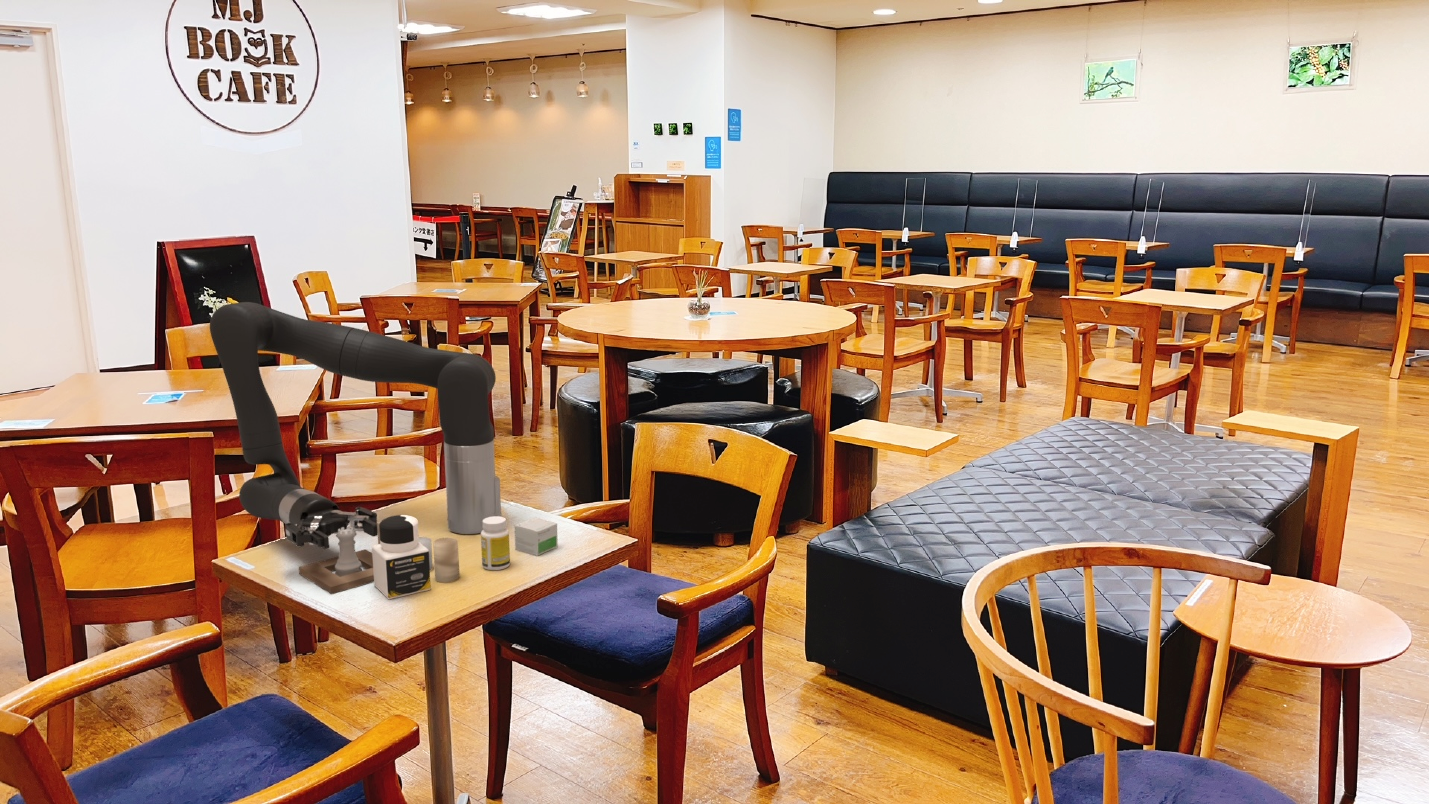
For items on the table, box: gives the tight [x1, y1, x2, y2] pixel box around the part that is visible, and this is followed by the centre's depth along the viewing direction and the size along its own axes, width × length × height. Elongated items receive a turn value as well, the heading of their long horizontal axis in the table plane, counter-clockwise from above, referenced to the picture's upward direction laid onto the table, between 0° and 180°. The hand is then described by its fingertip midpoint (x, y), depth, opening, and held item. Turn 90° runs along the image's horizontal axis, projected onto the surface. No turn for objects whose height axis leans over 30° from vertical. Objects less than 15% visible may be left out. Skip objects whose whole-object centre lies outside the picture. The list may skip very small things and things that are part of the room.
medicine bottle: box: [371, 514, 432, 600], centre depth 167 cm, size 7×7×12 cm
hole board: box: [298, 521, 381, 595], centre depth 173 cm, size 12×12×9 cm
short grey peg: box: [419, 536, 434, 571], centre depth 176 cm, size 4×4×5 cm
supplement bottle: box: [480, 516, 511, 571], centre depth 177 cm, size 5×5×8 cm
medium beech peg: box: [432, 537, 461, 584], centre depth 172 cm, size 4×4×6 cm
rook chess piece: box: [334, 526, 363, 577], centre depth 173 cm, size 4×4×8 cm
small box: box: [514, 516, 558, 557], centre depth 186 cm, size 6×6×5 cm
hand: (351, 536), depth 171 cm, fingers open, 8 cm apart
